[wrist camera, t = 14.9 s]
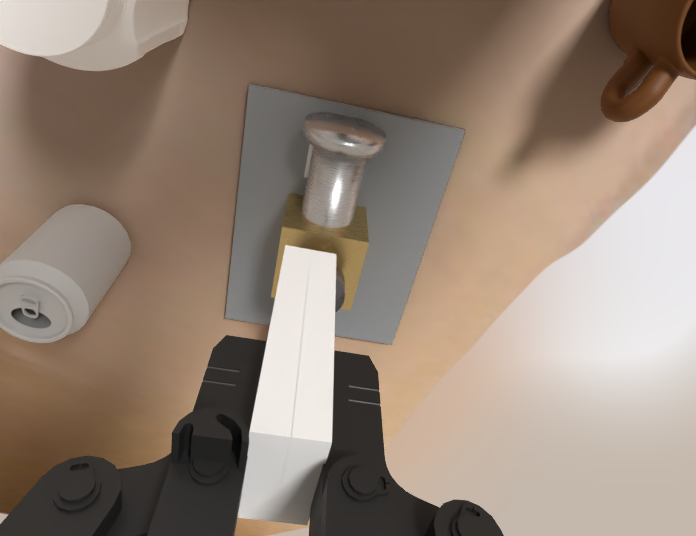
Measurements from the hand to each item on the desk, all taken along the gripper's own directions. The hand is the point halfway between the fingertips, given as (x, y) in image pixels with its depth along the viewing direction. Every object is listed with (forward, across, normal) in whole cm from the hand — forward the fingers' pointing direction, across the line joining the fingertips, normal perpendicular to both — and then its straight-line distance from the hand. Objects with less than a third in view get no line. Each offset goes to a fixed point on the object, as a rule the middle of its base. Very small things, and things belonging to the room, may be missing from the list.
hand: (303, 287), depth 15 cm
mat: (+29, +3, -14) cm, 33 cm away
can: (+30, -19, -19) cm, 40 cm away
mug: (+30, +22, +8) cm, 38 cm away
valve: (+29, +2, -14) cm, 33 cm away
